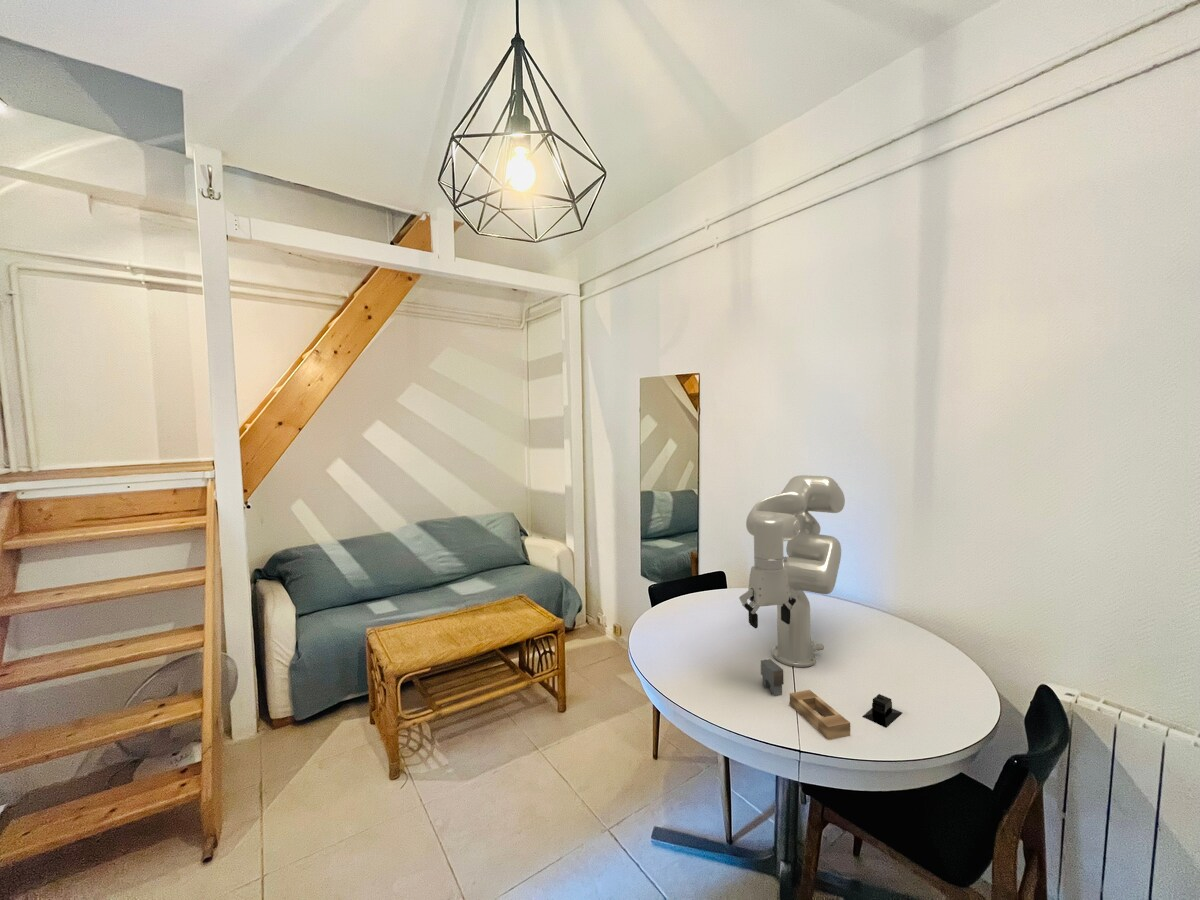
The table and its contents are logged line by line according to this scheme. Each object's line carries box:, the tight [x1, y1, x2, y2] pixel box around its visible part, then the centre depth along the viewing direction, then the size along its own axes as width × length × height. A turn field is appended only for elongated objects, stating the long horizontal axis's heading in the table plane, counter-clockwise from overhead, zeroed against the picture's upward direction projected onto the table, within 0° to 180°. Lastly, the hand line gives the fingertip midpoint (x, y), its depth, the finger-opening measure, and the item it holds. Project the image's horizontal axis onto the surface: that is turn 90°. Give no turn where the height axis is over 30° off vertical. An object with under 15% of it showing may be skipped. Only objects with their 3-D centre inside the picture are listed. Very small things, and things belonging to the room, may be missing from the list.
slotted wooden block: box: [789, 689, 851, 741], centre depth 111 cm, size 14×6×3 cm, turn 13°
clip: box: [760, 658, 785, 697], centre depth 124 cm, size 6×3×7 cm, turn 13°
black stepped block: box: [862, 693, 903, 729], centre depth 112 cm, size 12×7×5 cm, turn 126°
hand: (769, 624), depth 123 cm, fingers open, 9 cm apart
